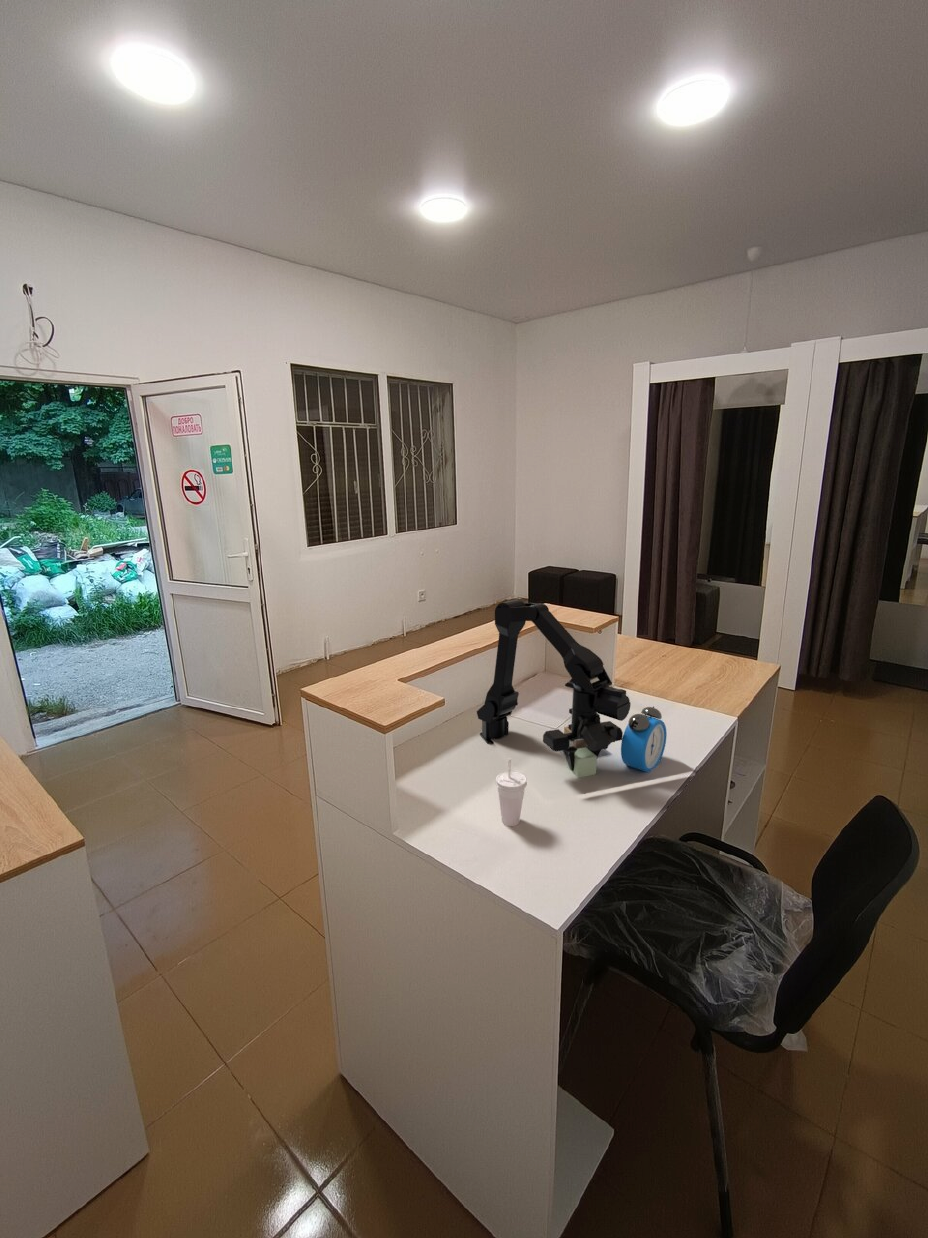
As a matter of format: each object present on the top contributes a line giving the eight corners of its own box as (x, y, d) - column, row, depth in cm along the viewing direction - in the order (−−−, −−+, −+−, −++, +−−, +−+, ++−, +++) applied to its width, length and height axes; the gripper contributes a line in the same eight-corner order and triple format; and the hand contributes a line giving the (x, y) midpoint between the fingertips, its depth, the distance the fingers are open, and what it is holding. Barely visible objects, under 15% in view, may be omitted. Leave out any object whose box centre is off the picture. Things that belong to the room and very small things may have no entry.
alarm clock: (641, 781, 133) (646, 722, 130) (617, 773, 137) (621, 715, 134) (665, 762, 143) (669, 706, 139) (642, 754, 147) (646, 700, 143)
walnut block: (575, 754, 145) (576, 736, 144) (563, 744, 150) (564, 727, 149) (595, 750, 147) (596, 733, 145) (583, 741, 152) (584, 724, 151)
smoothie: (506, 808, 122) (507, 749, 119) (531, 819, 118) (533, 758, 115) (489, 822, 117) (489, 760, 114) (514, 833, 113) (515, 770, 110)
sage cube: (577, 779, 133) (578, 759, 132) (566, 769, 138) (567, 750, 137) (595, 775, 135) (596, 756, 134) (584, 765, 140) (585, 747, 138)
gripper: (566, 727, 122) (563, 791, 126) (639, 715, 128) (634, 777, 132) (542, 708, 132) (540, 768, 136) (611, 698, 138) (607, 756, 142)
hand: (581, 768), depth 136 cm, fingers closed on sage cube, 5 cm apart
